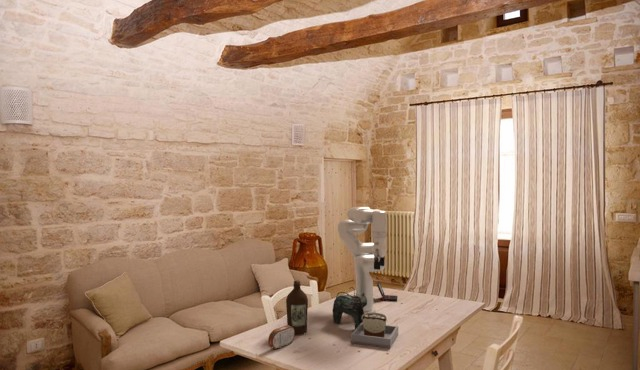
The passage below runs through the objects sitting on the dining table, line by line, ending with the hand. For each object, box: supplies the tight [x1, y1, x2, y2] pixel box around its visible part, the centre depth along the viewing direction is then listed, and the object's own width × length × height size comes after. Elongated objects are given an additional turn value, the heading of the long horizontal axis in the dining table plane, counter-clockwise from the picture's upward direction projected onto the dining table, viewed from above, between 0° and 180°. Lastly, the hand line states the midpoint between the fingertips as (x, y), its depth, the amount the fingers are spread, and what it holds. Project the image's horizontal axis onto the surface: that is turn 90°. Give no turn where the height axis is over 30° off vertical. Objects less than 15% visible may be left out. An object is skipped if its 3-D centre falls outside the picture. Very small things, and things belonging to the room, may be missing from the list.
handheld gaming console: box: [376, 281, 398, 303], centre depth 280 cm, size 9×12×10 cm
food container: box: [361, 312, 388, 338], centre depth 213 cm, size 12×6×10 cm, turn 70°
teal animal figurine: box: [332, 286, 367, 329], centre depth 230 cm, size 20×6×20 cm, turn 47°
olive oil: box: [285, 279, 309, 336], centre depth 222 cm, size 11×11×25 cm
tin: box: [267, 324, 296, 350], centre depth 204 cm, size 15×3×8 cm, turn 141°
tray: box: [350, 322, 399, 349], centre depth 212 cm, size 18×18×4 cm
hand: (379, 267), depth 236 cm, fingers open, 9 cm apart
